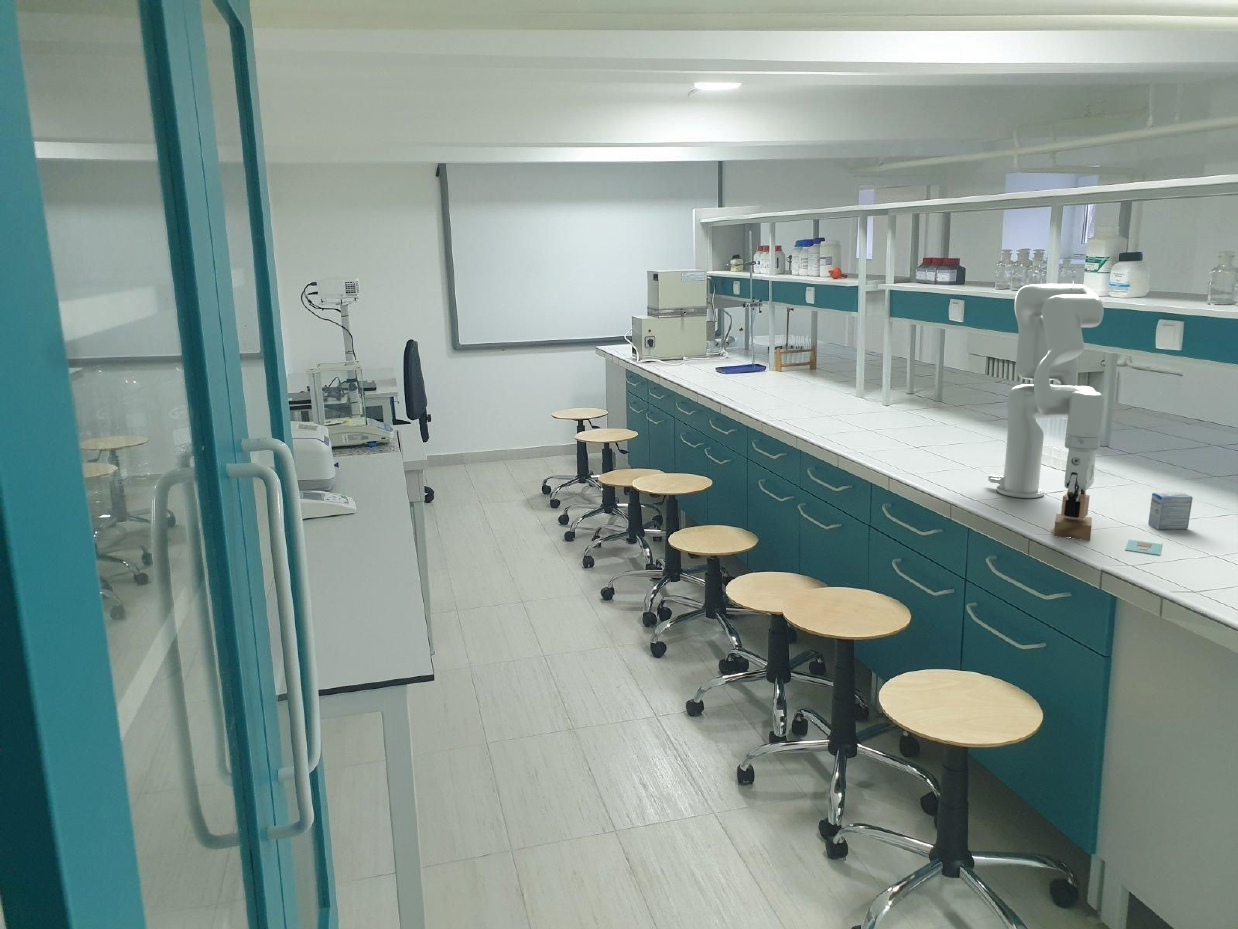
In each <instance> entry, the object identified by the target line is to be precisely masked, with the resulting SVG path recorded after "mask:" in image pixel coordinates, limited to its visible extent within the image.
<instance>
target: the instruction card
mask: <svg viewBox="0 0 1238 929" xmlns="http://www.w3.org/2000/svg"><path fill="white" fill-rule="evenodd" d="M1162 545H1163V544H1162V543H1157V542H1150V541H1143V540H1137V539H1128V541H1127V543H1126V547H1125V549H1124V551H1126V552H1133V551H1134V553H1141V554H1148V555H1154V556H1161V555H1160V554H1161V549H1162Z"/></svg>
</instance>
